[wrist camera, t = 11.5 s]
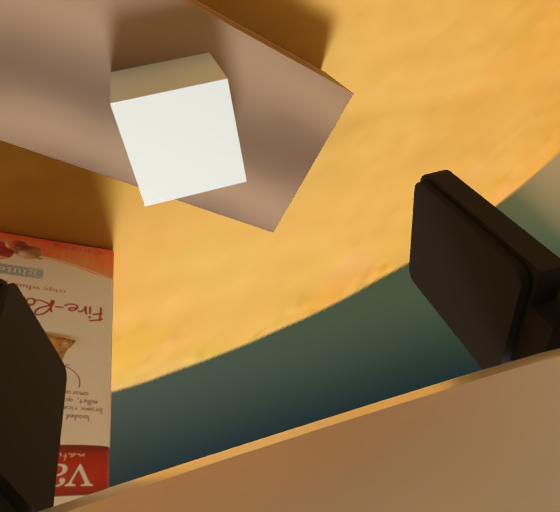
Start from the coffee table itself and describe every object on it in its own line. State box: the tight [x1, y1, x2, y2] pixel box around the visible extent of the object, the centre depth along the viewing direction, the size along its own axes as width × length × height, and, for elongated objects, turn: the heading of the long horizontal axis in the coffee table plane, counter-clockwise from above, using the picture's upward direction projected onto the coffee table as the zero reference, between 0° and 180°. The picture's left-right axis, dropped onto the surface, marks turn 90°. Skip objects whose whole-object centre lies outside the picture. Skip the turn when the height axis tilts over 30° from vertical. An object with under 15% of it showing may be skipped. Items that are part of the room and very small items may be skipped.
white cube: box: [110, 52, 247, 206], centre depth 24 cm, size 5×5×5 cm
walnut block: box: [0, 0, 353, 232], centre depth 28 cm, size 10×18×6 cm, turn 61°
